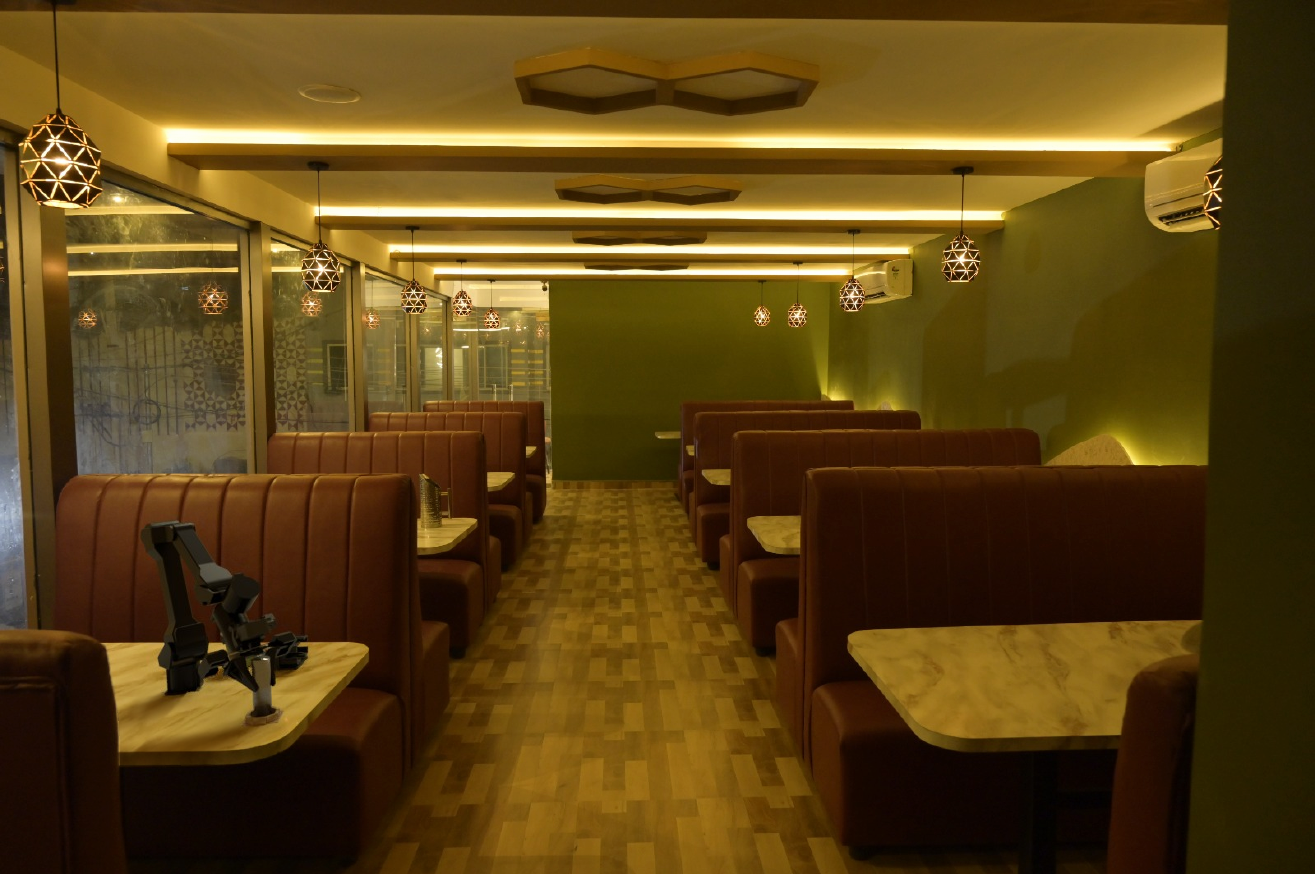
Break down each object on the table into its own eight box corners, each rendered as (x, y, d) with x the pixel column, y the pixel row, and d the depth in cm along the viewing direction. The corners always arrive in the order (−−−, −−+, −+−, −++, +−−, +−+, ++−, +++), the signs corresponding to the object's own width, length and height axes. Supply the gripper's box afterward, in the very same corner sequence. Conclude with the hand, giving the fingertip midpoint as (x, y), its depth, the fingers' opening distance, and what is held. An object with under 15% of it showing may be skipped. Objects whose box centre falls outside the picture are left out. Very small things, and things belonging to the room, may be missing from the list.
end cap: (280, 658, 211) (279, 632, 210) (309, 656, 212) (308, 631, 211) (266, 672, 201) (265, 644, 200) (296, 670, 202) (295, 643, 201)
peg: (251, 719, 169) (249, 662, 168) (255, 712, 172) (253, 656, 171) (270, 717, 169) (268, 660, 168) (273, 710, 173) (271, 655, 172)
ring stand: (241, 730, 167) (241, 720, 167) (249, 718, 173) (248, 707, 173) (277, 727, 168) (277, 716, 168) (284, 714, 175) (283, 704, 175)
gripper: (201, 614, 164) (233, 680, 158) (290, 594, 179) (321, 653, 173) (184, 646, 169) (214, 711, 163) (272, 623, 184) (301, 682, 178)
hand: (265, 688), depth 169 cm, fingers closed on peg, 3 cm apart
